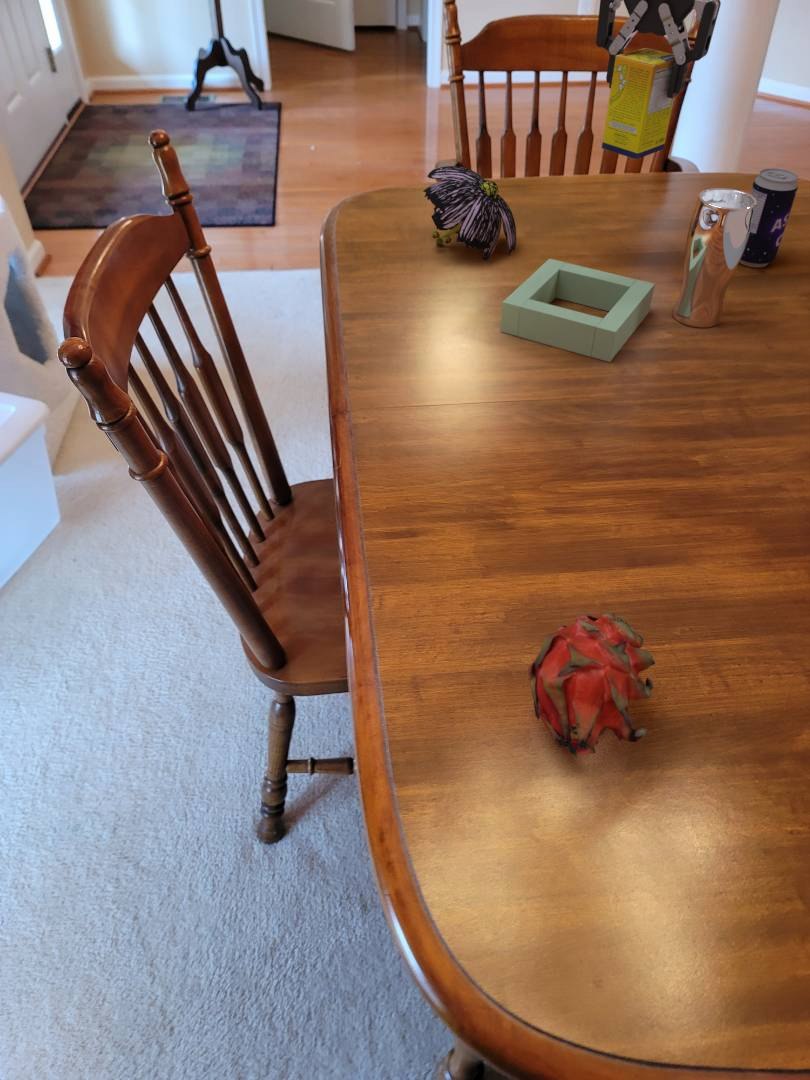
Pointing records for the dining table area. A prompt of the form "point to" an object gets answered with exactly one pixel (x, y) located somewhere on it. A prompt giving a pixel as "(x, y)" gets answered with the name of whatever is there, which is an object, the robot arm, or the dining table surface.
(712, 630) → the dining table surface
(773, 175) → the beverage can
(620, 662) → the dragon fruit
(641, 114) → the supplement box
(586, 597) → the dining table surface
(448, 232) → the decorative flower
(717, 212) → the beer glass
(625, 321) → the socket
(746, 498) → the dining table surface
